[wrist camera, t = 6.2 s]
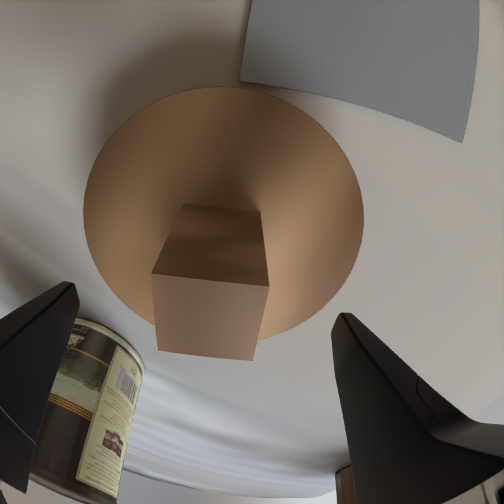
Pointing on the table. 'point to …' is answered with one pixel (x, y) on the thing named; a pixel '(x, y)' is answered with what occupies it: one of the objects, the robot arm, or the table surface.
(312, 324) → the table surface
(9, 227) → the table surface
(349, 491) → the plant pot
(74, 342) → the coffee can
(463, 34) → the mat
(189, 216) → the lid
